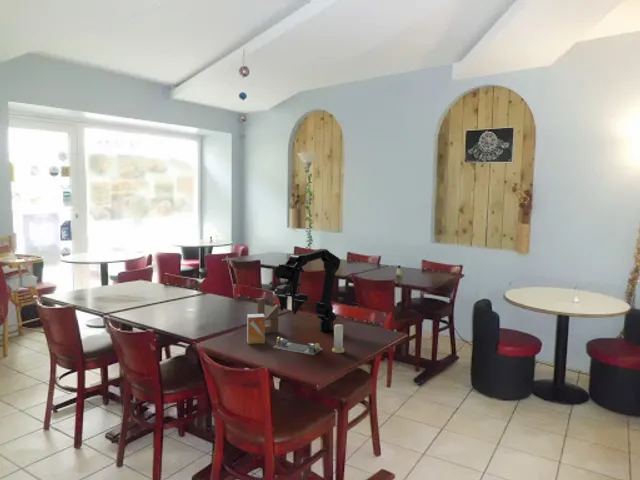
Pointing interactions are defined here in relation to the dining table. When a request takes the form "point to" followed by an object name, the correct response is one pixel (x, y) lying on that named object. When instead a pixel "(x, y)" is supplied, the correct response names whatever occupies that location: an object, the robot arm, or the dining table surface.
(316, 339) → the dining table surface
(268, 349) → the dining table surface
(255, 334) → the small box
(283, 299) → the robot arm
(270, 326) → the wooden block
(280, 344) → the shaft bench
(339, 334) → the grey upright cylinder
